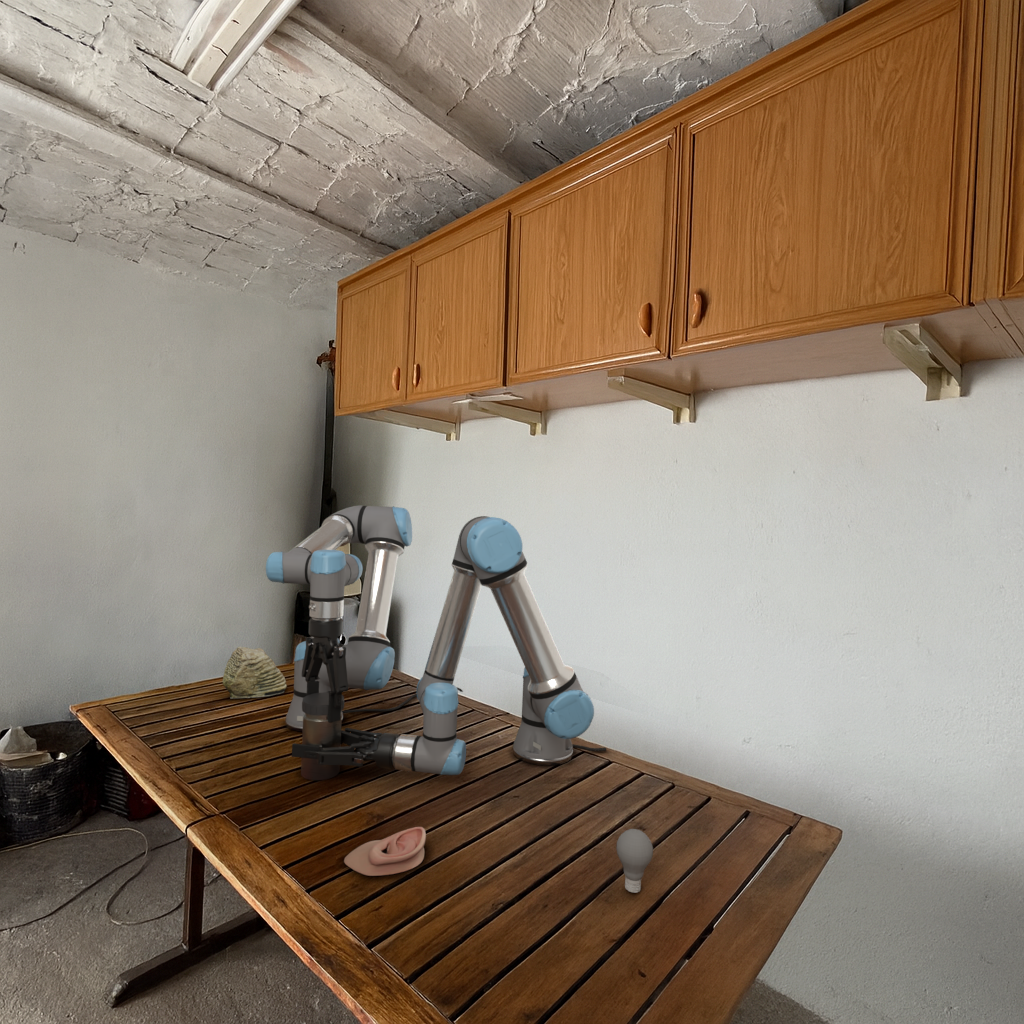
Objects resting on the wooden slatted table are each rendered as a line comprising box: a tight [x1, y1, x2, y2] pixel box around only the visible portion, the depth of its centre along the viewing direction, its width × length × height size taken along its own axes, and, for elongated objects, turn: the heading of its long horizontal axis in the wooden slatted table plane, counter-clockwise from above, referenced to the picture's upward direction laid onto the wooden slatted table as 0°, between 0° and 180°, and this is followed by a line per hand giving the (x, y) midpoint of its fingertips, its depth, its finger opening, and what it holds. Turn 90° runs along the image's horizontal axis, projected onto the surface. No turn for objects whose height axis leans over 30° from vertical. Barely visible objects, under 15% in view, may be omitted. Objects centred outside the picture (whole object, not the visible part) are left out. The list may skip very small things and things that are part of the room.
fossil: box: [222, 646, 288, 699], centre depth 198 cm, size 9×18×15 cm, turn 132°
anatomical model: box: [343, 826, 427, 877], centre depth 112 cm, size 13×4×12 cm
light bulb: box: [615, 828, 654, 894], centre depth 106 cm, size 6×6×10 cm
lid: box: [302, 692, 345, 715], centre depth 145 cm, size 9×9×2 cm
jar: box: [300, 713, 343, 781], centre depth 145 cm, size 8×8×15 cm
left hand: (322, 715), depth 146 cm, fingers closed on lid, 9 cm apart
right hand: (302, 742), depth 146 cm, fingers closed on jar, 8 cm apart
